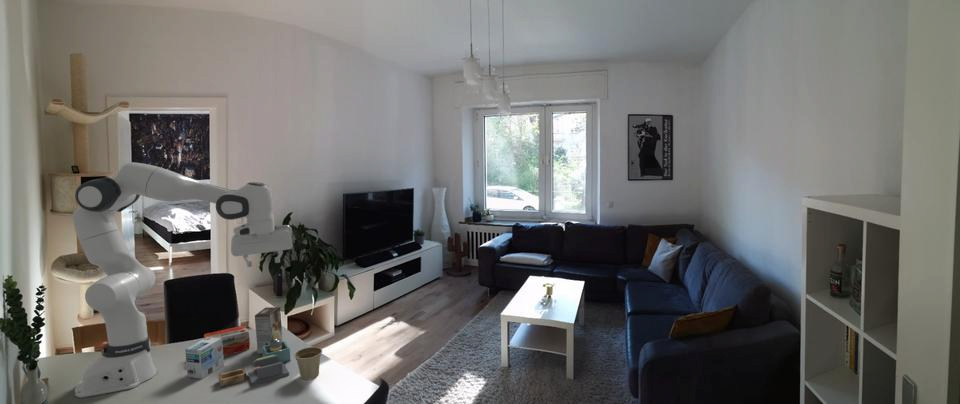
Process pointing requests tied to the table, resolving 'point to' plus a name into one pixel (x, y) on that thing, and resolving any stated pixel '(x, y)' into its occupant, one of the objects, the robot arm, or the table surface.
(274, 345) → the cell
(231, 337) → the medicine box
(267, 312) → the coffee box
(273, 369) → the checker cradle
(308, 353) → the flower pot
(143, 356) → the robot arm
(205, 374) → the light bulb box
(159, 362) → the table surface
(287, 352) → the cup
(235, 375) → the trough
